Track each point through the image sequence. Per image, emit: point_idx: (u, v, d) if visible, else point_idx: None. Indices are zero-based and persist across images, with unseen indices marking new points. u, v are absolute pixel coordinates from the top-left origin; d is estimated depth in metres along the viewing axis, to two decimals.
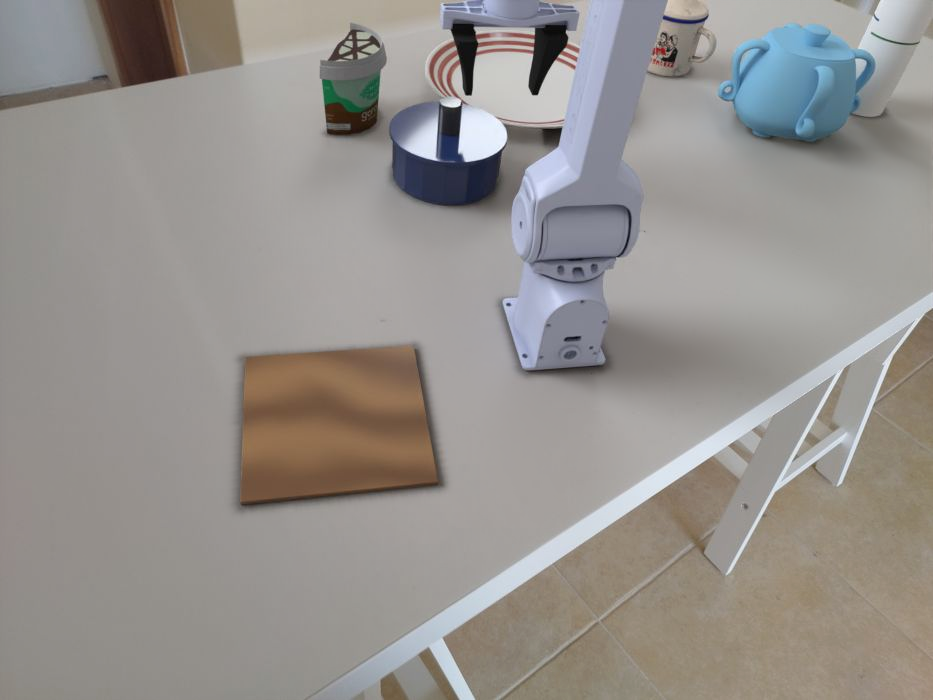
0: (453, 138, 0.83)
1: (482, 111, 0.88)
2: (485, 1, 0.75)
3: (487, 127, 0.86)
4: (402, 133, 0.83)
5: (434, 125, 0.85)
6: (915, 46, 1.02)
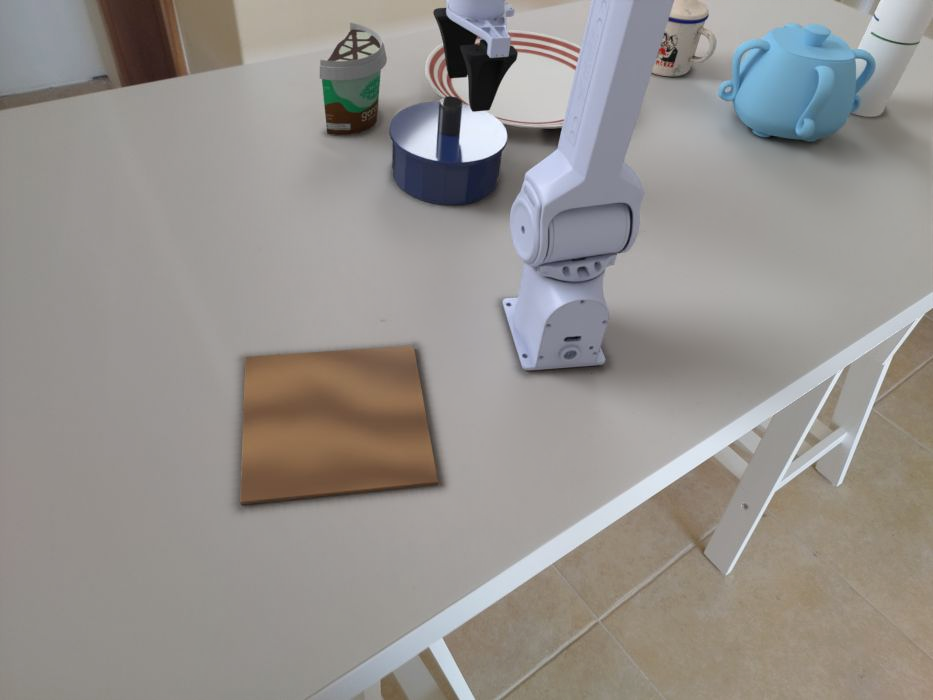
0: (453, 138, 0.83)
1: (482, 111, 0.88)
2: None
3: (487, 127, 0.86)
4: (402, 133, 0.83)
5: (434, 125, 0.85)
6: (915, 46, 1.02)
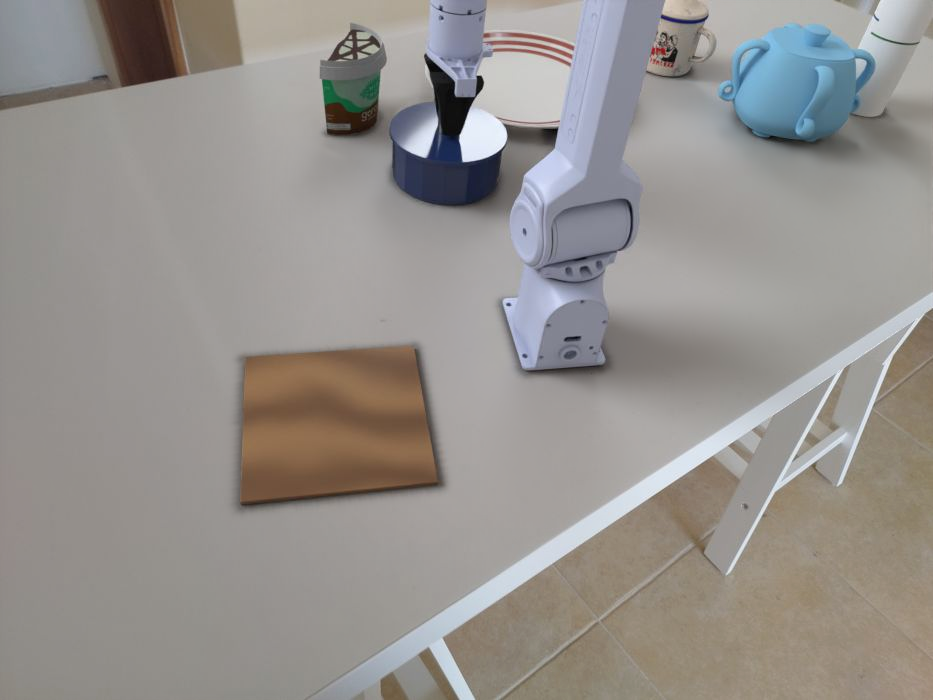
0: (453, 138, 0.83)
1: (482, 111, 0.88)
2: None
3: (487, 127, 0.86)
4: (402, 133, 0.83)
5: (434, 125, 0.85)
6: (915, 46, 1.02)
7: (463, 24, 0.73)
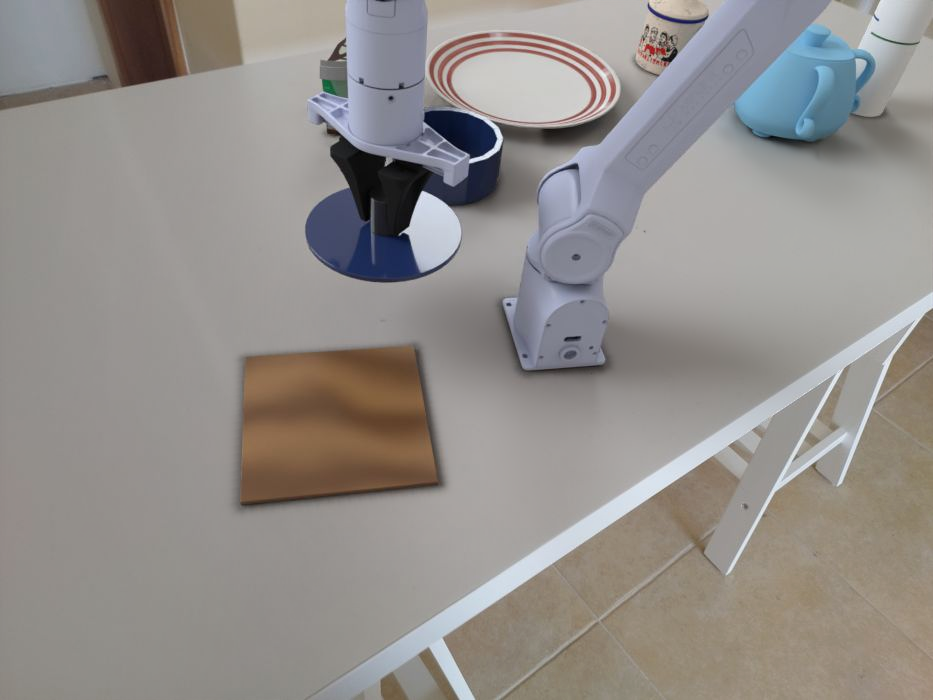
0: (402, 234, 0.64)
1: None
2: None
3: None
4: (350, 260, 0.61)
5: (363, 230, 0.64)
6: (915, 46, 1.02)
7: (417, 95, 0.54)
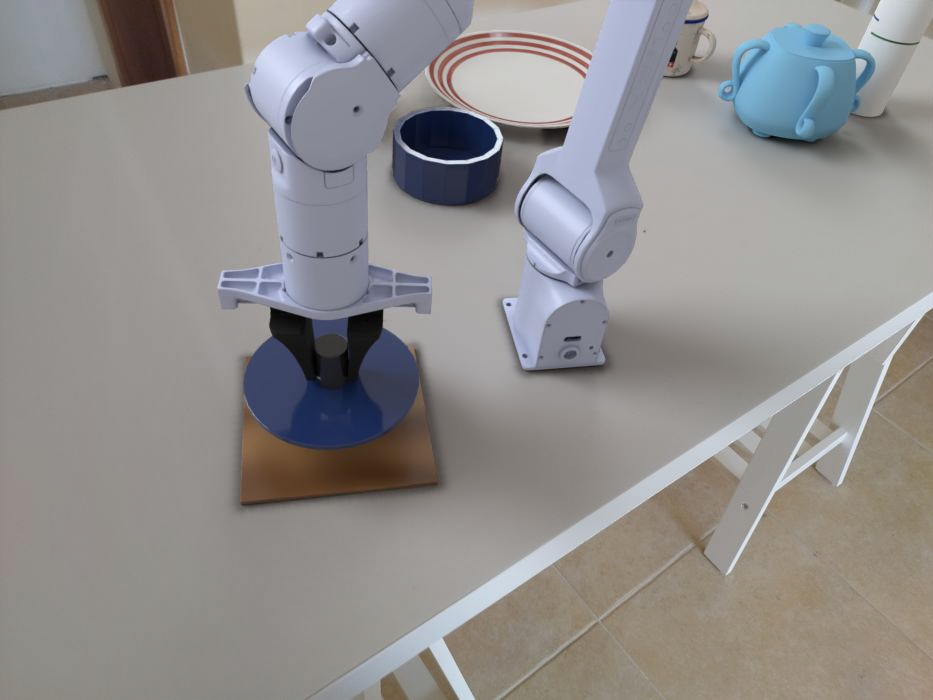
0: None
1: None
2: None
3: None
4: (336, 431, 0.54)
5: (316, 390, 0.57)
6: (915, 46, 1.02)
7: None
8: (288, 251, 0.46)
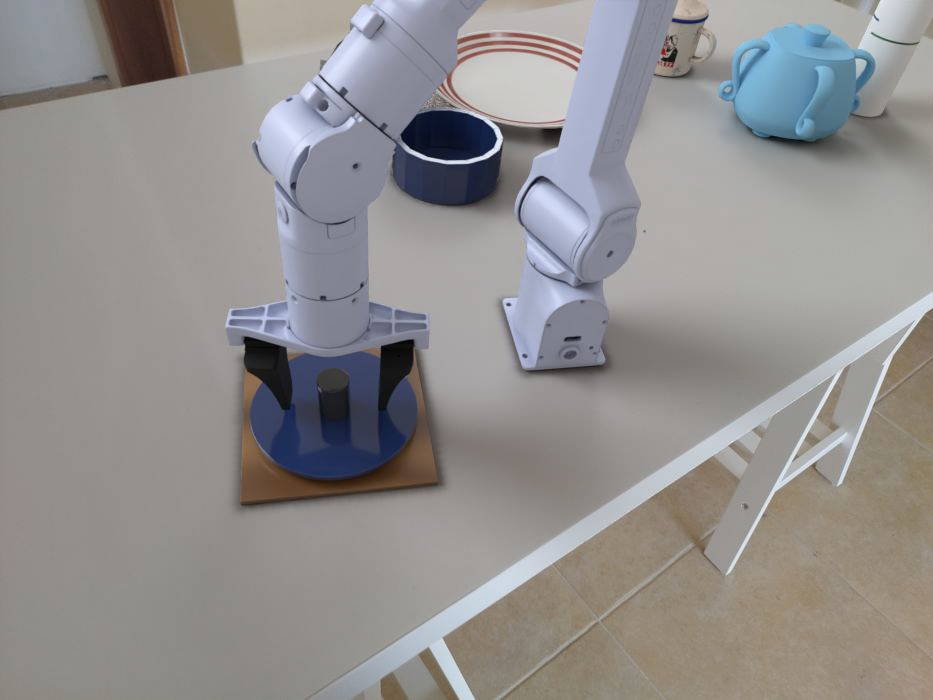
0: (357, 405, 0.61)
1: None
2: None
3: (332, 366, 0.64)
4: (339, 461, 0.57)
5: (319, 422, 0.59)
6: (915, 46, 1.02)
7: (368, 283, 0.51)
8: (293, 294, 0.49)
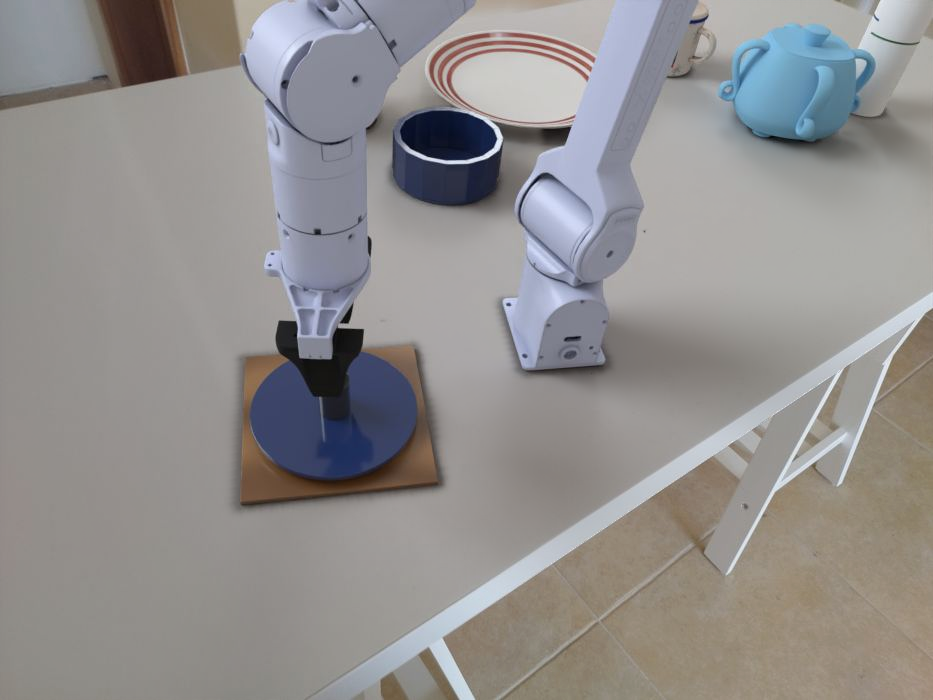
0: (357, 405, 0.61)
1: (288, 364, 0.63)
2: (324, 281, 0.47)
3: None
4: (339, 461, 0.57)
5: (319, 422, 0.59)
6: (915, 46, 1.02)
7: None
8: (350, 232, 0.45)
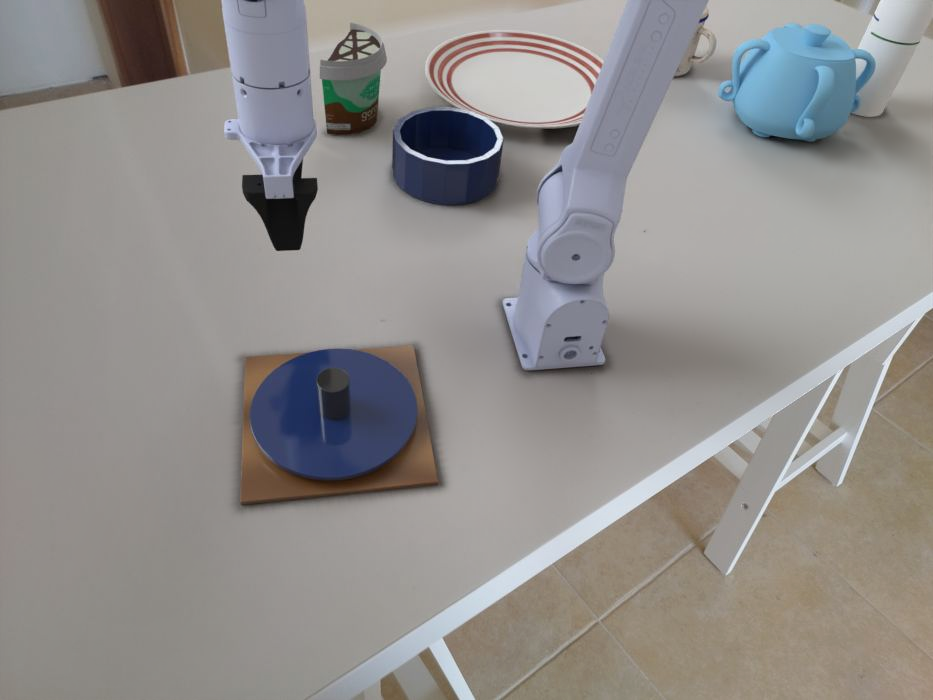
0: (357, 405, 0.61)
1: (288, 364, 0.63)
2: (279, 135, 0.56)
3: (332, 366, 0.64)
4: (339, 461, 0.57)
5: (319, 422, 0.59)
6: (915, 46, 1.02)
7: None
8: (299, 87, 0.54)
